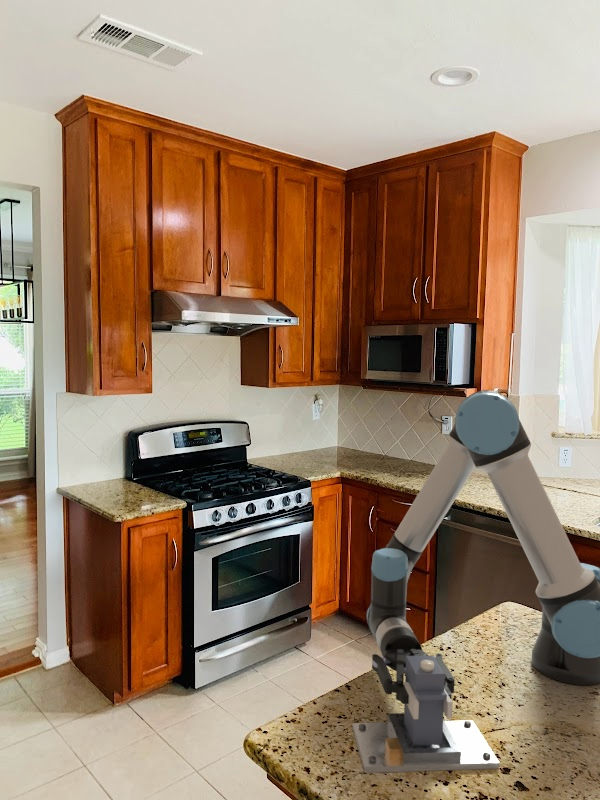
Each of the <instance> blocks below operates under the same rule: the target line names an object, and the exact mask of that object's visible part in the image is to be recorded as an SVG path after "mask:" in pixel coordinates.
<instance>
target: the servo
mask: <svg viewBox="0 0 600 800" xmlns="http://www.w3.org/2000/svg"><path fill="white" fill-rule="evenodd" d="M404 678H405V679H404V682H409V684H410V686H411V688H412V690H413V692H414V694H415V696H416V698H417V700H418V702H419V713H418V719H413V717H412V715H411V712H410V710H409V708H408V706H407V704H404V705H403V706H404V710H403V711H404V712H403V713H404V724H405V727H406V729H407V731H408V734H409V736H410V738H411V741H412V743H413V745H442V734H443V720H444V712H443V705H444V700H447V694H446V693H445V691H444V681H445V673H444V672H443V670H442V669H441V667H440V665H439V664H438V662H437V661H436V659H435V657H434V655H428V656H406V668H404Z"/></svg>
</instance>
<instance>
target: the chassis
mask: <svg viewBox="0 0 600 800" xmlns="http://www.w3.org/2000/svg"><path fill="white" fill-rule="evenodd" d="M351 728H352V733H353V736H354V740H355V742H356V743H355V744H356V747H357V751H358V754H359V757H360V758H359V759H360V760H361V764H362V765H361V766H362V767H363V768H362V769H363V771H364V774H371V773H372V774H373V773H379V774H380V773H403V772H404V773H405V772H432V771H433V772H435V771H438V772H439V771H466V770H471V771H472V770H494V769H495V770H496V769H497V770H498V769H500V761H499V760H498V758H497V757H496V755H495V754H494V752H493V751H492V748H491V747H490V745H489V743H488V742H487V741H486V739H485V738H484V736H483V734H482V732H481V731H480V729H479V728H478V726H477V725H476V723H475V721H474V720H473V719H471V720H470V719H466V720H465V719H464V720H462V719H461V720H460V719H459V720H445V719H443V734H442V745H413V743H412V741H411V738H410V736H409V734H408V731H407V729H406V727H405V724H404V712H402V713H401V712H399V713H397V712H396V713H393V712H392V713H387V722H361V723H360V722H356V723H354V722H353V723H352V727H351Z"/></svg>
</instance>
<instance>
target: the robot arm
mask: <svg viewBox="0 0 600 800" xmlns="http://www.w3.org/2000/svg"><path fill="white" fill-rule="evenodd" d="M448 440H449V442H448V444H447V446H446V448H445V449H444V451H443V452H442V454H441V456H440V457H439V458H438V459H439V460H437V462H436V463H435V466H434V467H433V469H432V471H431V472H430V474H429V475H428V477H427V479H426V480H425V482H424V484H423V485H422V487H421V489H420V491H419V492H418V493H417V495H416V497H415V499H414V500H413V502H412V503H411V505H410V507H409V509H408V510H407V512H406V514H405V515H404V517H403V519H402V521H401V522H400V524H399V525H398V527H397V529H396V530H395V532H394V533H393V535H392V536H391V538H390V540H389V542H388V543H387V544H386V546H385V547H384V548H380V549H376V550H375V551H374V552H373V554H372V561H371V566H370V569H371V584H370V585H371V589H370V591H371V594H370V605H369V606H368V609H367V611H366V620H367V626H368V628H369V631H370V632H371V633H372V636H373V638H374V640H375V641H376V644H377V645H378V646H377V647H378V649H379V650H380V653H381V655H382V656H380V655H379V654H377V653H375V654H374V653H373V654H371V655H372V657H371V658H372V659H371V669H372V670H373V671H374V672H375V673H377V676H378V679H379V681H380V683H381V686H382V689H383V691H384V694H386V695H388V696H389V695H392V694H393V693H395V700H396V701H399V702H400V703H401V704H403V705H405V704H407V706H408V708H409V710H410V712H411V715H412V717H413V719H418V713H419V702H418V700H417V698H416V696H415V694H414V692H413V690H412V688H411V686H410V684H409V682H405V679H404V678H405V674H404V668H406V656H429V655H428V653H427V652H426V651H424V650H423V648H422V645H421V643H420V641H419V640H418V638H417V636H416V635H415V633H414V631H413V629H412V628H411V626H410V625H409V623H408V622H407V592H408V581H409V578H410V576H411V573H412V571H413V568H414V567H415V565H416V563H417V562H418V560H420V557H421V555H422V553H423V552H424V550H425V548H426V547H427V545H428V544H429V542H430V541H431V539H432V537H433V536H434V534H435V533H436V531H437V529H438V528H439V526H440V524H441V523H442V521H443V520H444V518H445V517H446V515H447V514H448V512H449V510H450V509H451V508H452V505H453V504H454V502H455V501H456V499H457V497H458V496H459V494H460V493H461V491H462V490H463V488H464V487H465V485H466V483H467V481H468V480H469V478H470V476H471V475H472V473H473V471H475V469H478V470H480V471H484V472H485V473H486V474H487V476H488V478H489V480H490V483H491V485H492V487H493V488H494V491H495V493H496V494H497V497H498V499H499V501H500V503H501V506H502V507H503V509H504V511H505V513H506V515H507V518H508V520H509V521H510V524H511V527H512V528H513V531H514V532H515V534H516V536H517V538H518V541H519V543H520V545H521V547H522V549H523V552H524V553H525V555H526V557H527V559H528V562H529V564H530V565H531V567H532V571H534V574H535V576H536V579H537V580H538V584H537V586H536V589H535V594H536V596H537V599H538V600H539V602H540V605H541V607H542V611H541V612H542V613H541V627H540V628H541V629H540V631H539V634H538V636H537V638H536V641H535V643H534V645H533V648H532V651H531V665H532V666H533V667H534V668H535V670H537V671H538V672H539V673H540V674H542V675H544V676H546V677H548V678H550V679H552V680H555V681H558V682H561V683H565V684H570V685H577V686H593V685H600V567H598V566H595V565H591V564H588V563H583V562H580V560H579V557H578V555H577V554H576V551H575V549H574V547H573V545H572V544H571V542H570V540H569V537H568V535H567V533H566V531H565V529H564V527H563V525H562V522H561V521H560V519H559V517H558V514H557V512H556V510H555V508H554V506H553V504H552V502H551V499H550V498H549V496H548V493H547V492H546V490H545V487H544V486H543V484H542V481H541V480H540V477H539V476H538V473H537V472H536V469H535V468H534V465H533V463H532V461H531V458H530V457H529V452H530V450H531V447H532V443H531V441H530V439H529V437H528V433H527V432H526V431H525V428H524V425H523V424H522V422H521V420H520V416H519V414H518V411H517V409H516V407H515V405H514V404H513V403H512V402H511V401H510V400H509V398H507V397H506V396H505V395H503V394H501V393H500V392H498V391H494V390H490V389H483V390H479V391H476V392H475V391H474V392H473V393H471V394H470V395H469V396H467V397H466V398H465V399H464V400H463V401H462V402H461V404H459V406H458V407H457V411H456V413H455V418H454V424H453V427H452V429H451V430H450V432H449V433H448ZM433 656H434V655H433ZM434 657H435V659H436V661H437V662H438V664H439V665H440V667H441V669H442V670H443V672H444V673H445V681H444V691H445V693H446V694H447V700H444V705H443V714H444V715H445V717H446V719H452V718H453V703H454V702H453V700H452V694H454V693H455V680H456V679H455V677H454V675H453V674H452V672H451V671H450V668H448V666H447V665H446V663H445V662H444V660H443V654H442V653H436V654H435V656H434ZM389 668H390V669H391V670H393V671H395V672H396V681H395V680H393V677H392V675H391V673H390V671H389Z"/></svg>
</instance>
